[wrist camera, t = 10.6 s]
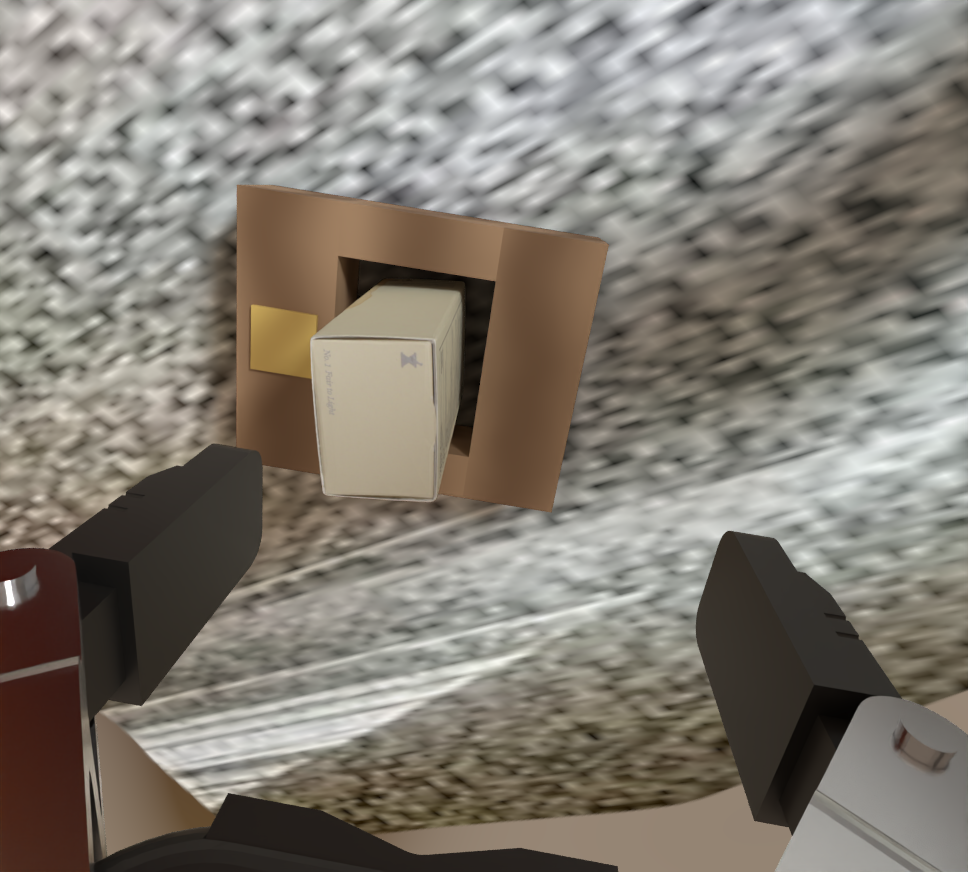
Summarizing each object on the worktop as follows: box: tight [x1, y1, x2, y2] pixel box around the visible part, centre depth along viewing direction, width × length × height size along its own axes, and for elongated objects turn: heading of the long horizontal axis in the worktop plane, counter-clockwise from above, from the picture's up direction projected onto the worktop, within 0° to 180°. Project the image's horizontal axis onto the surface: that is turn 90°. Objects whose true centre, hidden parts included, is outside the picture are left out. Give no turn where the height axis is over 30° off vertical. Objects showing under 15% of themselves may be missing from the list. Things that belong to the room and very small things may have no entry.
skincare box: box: [310, 279, 465, 502], centre depth 27 cm, size 6×4×12 cm
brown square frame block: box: [236, 185, 609, 512], centre depth 31 cm, size 16×13×4 cm
